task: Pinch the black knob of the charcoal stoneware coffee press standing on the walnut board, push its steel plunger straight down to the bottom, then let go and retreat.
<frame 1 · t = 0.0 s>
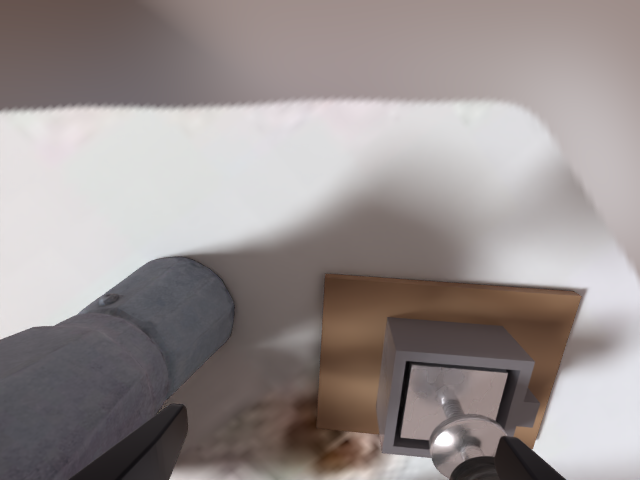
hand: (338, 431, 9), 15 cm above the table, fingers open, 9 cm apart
moka pot: (188, 308, 25), on the table
plunger: (468, 447, 18), point 7 cm above the table, slide at 0.0 cm
board: (432, 362, 25), on the table
press: (435, 368, 24), resting on board
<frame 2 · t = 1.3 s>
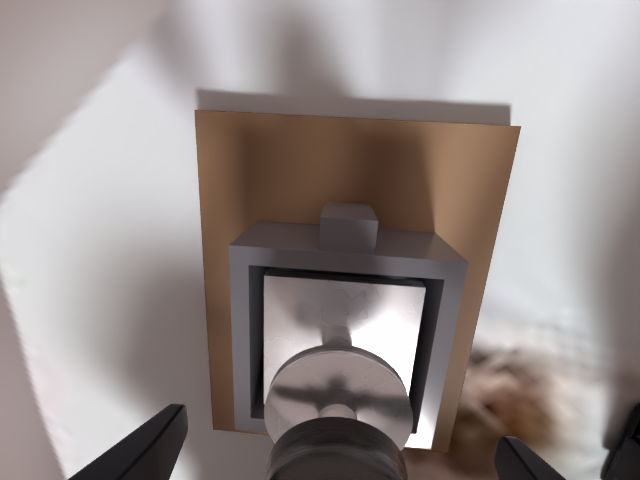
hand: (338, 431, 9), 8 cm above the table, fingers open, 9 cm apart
plunger: (337, 409, 10), point 7 cm above the table, slide at 0.0 cm
board: (339, 298, 17), on the table
press: (338, 305, 16), resting on board
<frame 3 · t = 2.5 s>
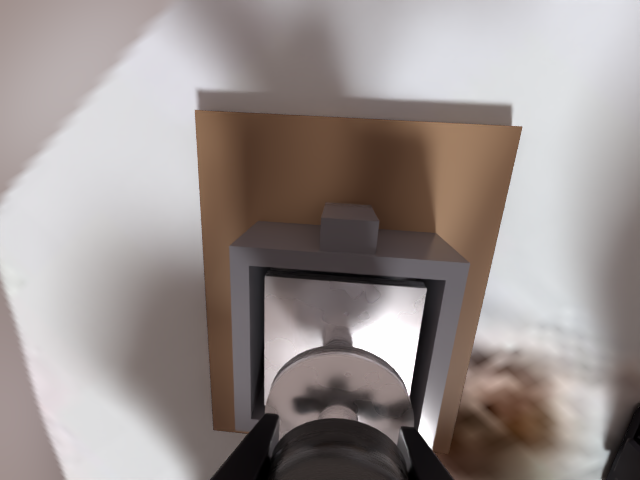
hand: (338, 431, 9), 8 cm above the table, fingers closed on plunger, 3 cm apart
plunger: (338, 410, 10), point 7 cm above the table, slide at 0.0 cm, touching gripper
board: (339, 299, 17), on the table
press: (339, 306, 16), resting on board
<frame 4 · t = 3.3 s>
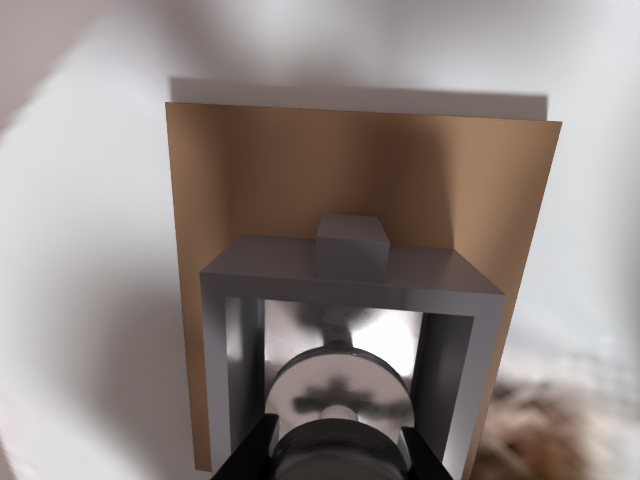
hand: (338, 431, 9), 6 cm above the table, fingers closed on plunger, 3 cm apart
plunger: (338, 410, 10), point 5 cm above the table, slide at 2.4 cm, touching gripper
board: (339, 323, 14), on the table
press: (339, 333, 13), resting on board
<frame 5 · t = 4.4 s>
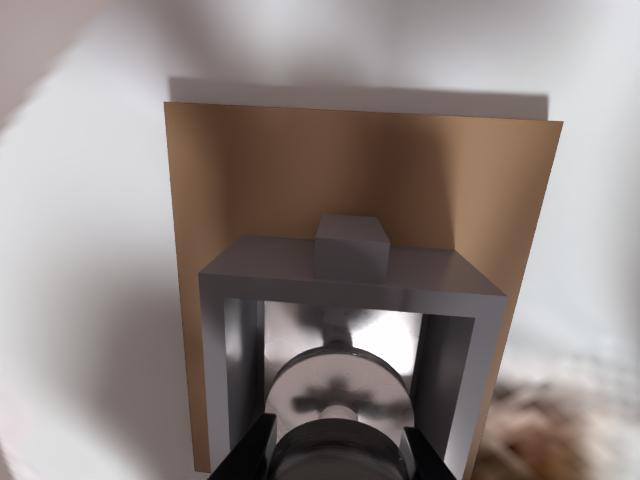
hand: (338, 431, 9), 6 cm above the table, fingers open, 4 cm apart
plunger: (338, 410, 10), point 5 cm above the table, slide at 2.5 cm
board: (339, 324, 14), on the table
press: (339, 334, 13), resting on board
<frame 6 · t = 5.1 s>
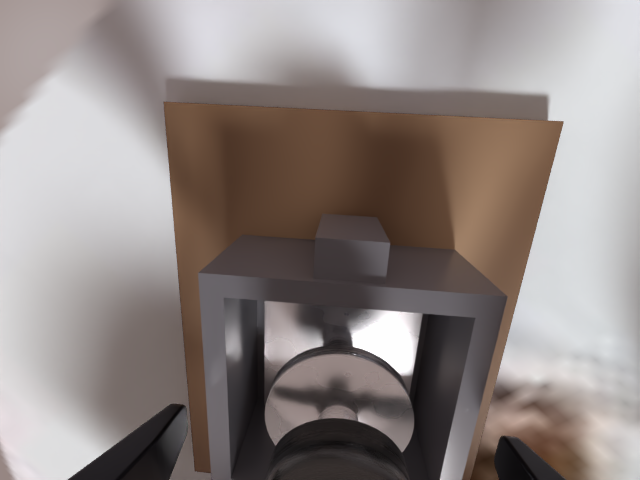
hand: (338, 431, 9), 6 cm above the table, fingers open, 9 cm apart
plunger: (338, 410, 10), point 5 cm above the table, slide at 2.5 cm
board: (339, 324, 14), on the table
press: (339, 334, 13), resting on board
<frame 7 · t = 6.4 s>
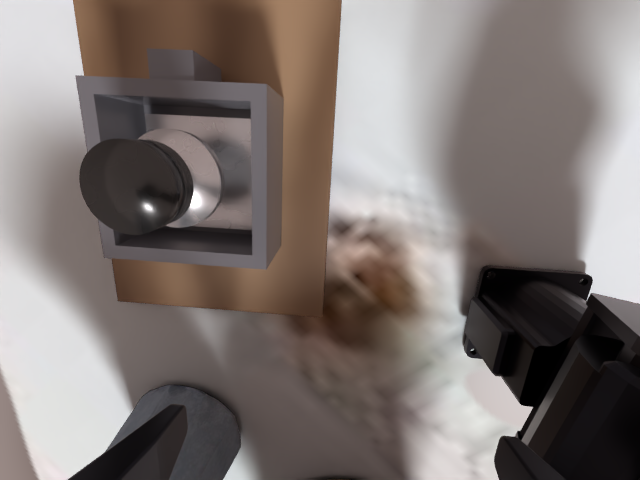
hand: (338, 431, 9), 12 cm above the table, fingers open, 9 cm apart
moka pot: (192, 421, 25), on the table
plunger: (176, 179, 14), point 5 cm above the table, slide at 2.5 cm
board: (217, 171, 19), on the table
press: (211, 172, 18), resting on board
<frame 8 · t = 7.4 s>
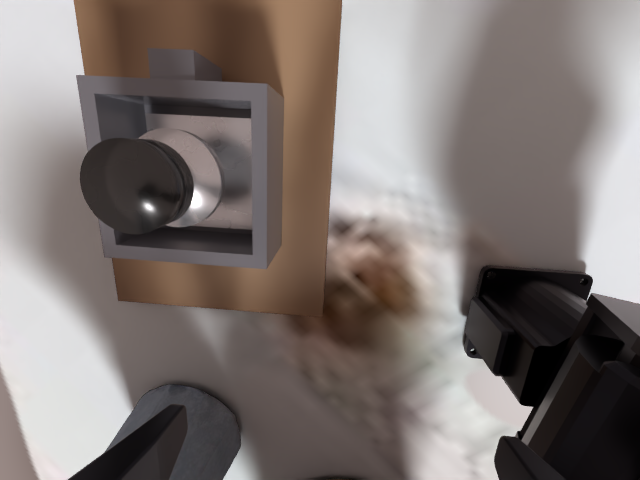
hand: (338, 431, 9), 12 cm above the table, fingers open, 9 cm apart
moka pot: (192, 420, 25), on the table
plunger: (176, 179, 14), point 5 cm above the table, slide at 2.5 cm
board: (217, 171, 19), on the table
press: (212, 172, 18), resting on board
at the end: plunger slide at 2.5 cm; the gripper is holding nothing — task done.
